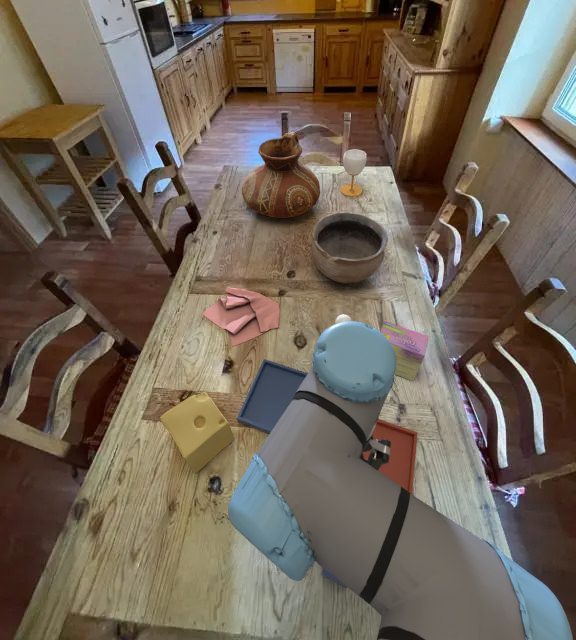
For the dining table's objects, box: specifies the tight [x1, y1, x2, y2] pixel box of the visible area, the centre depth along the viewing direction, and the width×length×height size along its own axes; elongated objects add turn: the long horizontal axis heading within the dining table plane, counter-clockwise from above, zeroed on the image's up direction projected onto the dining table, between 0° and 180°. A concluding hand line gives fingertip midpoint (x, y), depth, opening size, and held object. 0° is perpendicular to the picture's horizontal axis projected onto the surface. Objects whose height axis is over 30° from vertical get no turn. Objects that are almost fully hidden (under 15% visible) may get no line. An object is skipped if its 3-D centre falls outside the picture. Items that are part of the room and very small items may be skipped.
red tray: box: [363, 418, 419, 495], centre depth 69 cm, size 15×15×2 cm
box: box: [379, 320, 430, 382], centre depth 81 cm, size 10×6×12 cm, turn 65°
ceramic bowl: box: [310, 211, 389, 284], centre depth 103 cm, size 22×22×15 cm
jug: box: [241, 132, 321, 219], centre depth 127 cm, size 30×30×25 cm
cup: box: [340, 148, 368, 197], centre depth 135 cm, size 9×9×16 cm
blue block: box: [320, 567, 349, 589], centre depth 56 cm, size 4×4×6 cm
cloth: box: [201, 287, 281, 347], centre depth 97 cm, size 20×22×2 cm
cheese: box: [159, 391, 236, 474], centre depth 70 cm, size 10×11×10 cm
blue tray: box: [236, 358, 309, 435], centre depth 78 cm, size 15×15×2 cm
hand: (333, 468), depth 57 cm, fingers closed on red block, 4 cm apart
